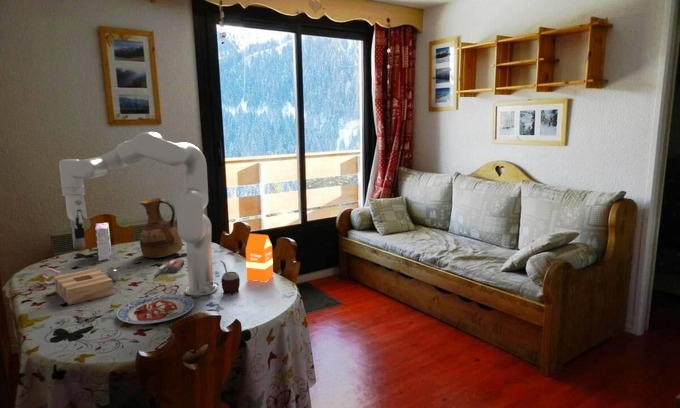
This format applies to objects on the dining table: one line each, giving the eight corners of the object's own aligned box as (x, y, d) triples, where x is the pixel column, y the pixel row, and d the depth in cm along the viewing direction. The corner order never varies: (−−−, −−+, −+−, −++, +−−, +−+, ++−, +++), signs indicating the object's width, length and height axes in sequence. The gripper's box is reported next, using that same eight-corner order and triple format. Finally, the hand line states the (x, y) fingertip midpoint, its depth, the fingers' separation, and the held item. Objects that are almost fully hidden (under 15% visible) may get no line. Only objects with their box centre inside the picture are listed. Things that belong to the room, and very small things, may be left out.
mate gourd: (238, 288, 189) (237, 253, 186) (241, 295, 182) (240, 258, 179) (220, 291, 186) (218, 255, 184) (222, 298, 179) (220, 261, 176)
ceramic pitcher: (143, 252, 242) (138, 196, 237) (183, 248, 248) (179, 193, 243) (139, 262, 224) (133, 202, 219) (182, 259, 230) (178, 199, 224)
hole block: (113, 293, 184) (112, 279, 183) (68, 304, 173) (67, 289, 172) (98, 281, 198) (96, 268, 197) (55, 291, 187) (53, 276, 186)
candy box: (99, 254, 239) (95, 223, 236) (111, 252, 241) (108, 222, 238) (97, 261, 227) (94, 228, 224) (111, 259, 229) (108, 227, 226)
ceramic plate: (106, 313, 166) (105, 305, 165) (174, 294, 184) (174, 287, 183) (134, 336, 148) (133, 327, 147) (207, 313, 166) (206, 305, 165)
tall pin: (86, 247, 182) (83, 217, 180) (75, 249, 179) (71, 219, 177) (83, 245, 185) (80, 216, 183) (72, 247, 182) (69, 217, 180)
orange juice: (265, 283, 195) (263, 237, 192) (246, 280, 198) (244, 235, 195) (273, 277, 203) (272, 232, 199) (255, 275, 206) (253, 231, 202)
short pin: (120, 281, 199) (118, 270, 198) (110, 283, 196) (109, 272, 195) (116, 278, 201) (115, 267, 201) (107, 281, 199) (105, 270, 198)
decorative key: (95, 284, 204) (41, 284, 194) (95, 283, 205) (42, 283, 195) (96, 269, 203) (42, 268, 194) (96, 268, 204) (43, 268, 195)
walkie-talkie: (167, 265, 222) (152, 279, 202) (166, 256, 221) (151, 269, 201) (185, 264, 222) (172, 278, 202) (185, 255, 221) (172, 269, 201)
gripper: (90, 192, 175) (95, 239, 178) (78, 188, 187) (82, 231, 190) (68, 194, 170) (73, 242, 173) (56, 189, 182) (62, 235, 185)
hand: (78, 236), depth 181 cm, fingers closed on tall pin, 4 cm apart
